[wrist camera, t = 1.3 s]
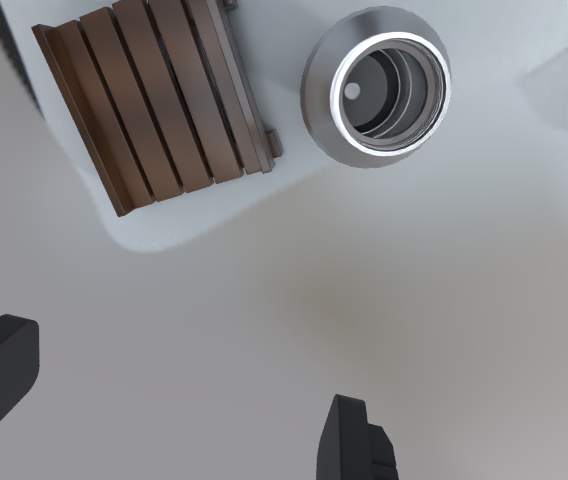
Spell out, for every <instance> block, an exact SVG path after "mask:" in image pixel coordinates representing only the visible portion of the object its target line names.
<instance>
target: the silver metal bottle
mask: <svg viewBox="0 0 568 480" xmlns="http://www.w3.org/2000/svg"><path fill="white" fill-rule="evenodd" d="M451 79H452V77H451V68H450V61H449V57H448V54H447V51H446V48H445V46H444V44H443V42H442V40H441V39H440V37H439V35H438V33H437V32H436V31H435V30H434V29H433V28H432V27H431V26H430V25H429V24H428V22H427V21H425V20H424V19H422V18H420V17H419V16H417V15H416V14H414V13H412V12H409V11H407V10H404V9H401V8H396V7H388V6H380V7H371V8H366V9H363V10H360V11H357V12H354V13H352V14H350V15H348V16H347V17H345V18H343V19H342V20H340V21H338V22H337V23H336V24H335V25H334V26H332V27H331V28H330V29H329V30H328V31H327V32H326V33H325V34H324V35H323V36H322V38H321V39H320V40H319V41H318V43H317V44H316V45H315V47H314V49H313V51H312V53H311V54H310V56H309V58H308V60H307V63H306V66H305V69H304V72H303V75H302V81H301V88H300V103H301V111H302V115H303V119H304V123H305V125H306V127H307V129H308V132H309V134H310V136H311V137H312V138H313V140H314V141H315V143H316V144H317V146H318V147H319V148H321V149H322V150H323V151H324V152H325V153H326V154H327V155H328V156H330V157H331V158H333V159H335V160H336V161H338V162H340V163H343V164H346V165H349V166H351V167H358V168H379V167H383V166H387V165H391V164H394V163H396V162H398V161H400V160H402V159H404V158H407V157H408V156H409V155H411V154H412V153H413V152H415V151H416V150H418V149H419V148H420V147H421V146H422V145H423V144H424V143H425V142H426V141H427V140H428V139H429V138H430V137H431V135H432V134H433V133H434V132H435V130H436V129H437V127H438V126H439V124H440V123H441V121H442V119H443V117H444V115H445V113H446V111H447V107H448V104H449V100H450V91H451Z"/></svg>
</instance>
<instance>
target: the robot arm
mask: <svg viewBox="0 0 568 480" xmlns="http://www.w3.org/2000/svg"><path fill="white" fill-rule="evenodd" d="M38 372H39V326H38V323H37V322H36V321H34V320H30V319H26V318H22V317H17V316H13V315H9V314H5V315H2V316H0V421H1V420H2V419H3V418H4V417H5V416H6V414H7V413H8V412H9V411H10V410H11V409H12V408H13V407H14V406H15V405H16V404H17V403H18V402H19V401H20V400H21V399H22V398H23V397H24V396H25V395H26V394H27V393H28V392H29V390H30V389H31V388H32V386H33V385H34V383H35V381H36V378H37V376H38ZM316 480H399V478H398V472H397V469H396V461H395V456H394V450H393V445H392V443H391V442H390V440H389V439H388V437H387V435H386V433H385V432H384V430H383V428H382V427H381V426H377V425H373V424H369V423H368V422H367V413H366V406H365V402H364V401H363V400H359V399H355V398H351V397H347V396H343V395H338V394H336V395H335V397H334V399H333V402H332V405H331V408H330V411H329V414H328V417H327V420H326V423H325V426H324V429H323V432H322V435H321V438H320V443H319V448H318V454H317V471H316Z"/></svg>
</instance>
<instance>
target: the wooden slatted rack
mask: <svg viewBox="0 0 568 480" xmlns="http://www.w3.org/2000/svg"><path fill="white" fill-rule="evenodd" d="M148 1H149V3H148V4H147V1H146V0H121V1H118V2H116V3H114V4H112V7H113V9H111V8H108V7H104V8H101V9H99V10H96V11H94V12H91V13H89V14H87V15H84V16H82V17H80V21H81V22H80V21H76V20H72V21H70V22H67V23H65V24H63V25H60V26H58V27H51V26H46V25H42V24H38V25H35V26H33V27H31V29H32V31H33V33H34V35H35V37H36V39H37V42H38V44H39V46H40V48H41V50H42V53H43V55H44V57H45V59H46V61H47V63H48V66H49V68H50V70H51V72H52V74H53V76H54V79H55V81H56V83H57V85H58V87H59V89H60V92H61V94H62V96H63V98H64V100H65V103H66V105H67V107H68V109H69V111H70V113H71V116H72V118H73V120H74V122H75V124H76V126H77V129H78V131H79V133H80V135H81V137H82V139H83V142H84V144H85V146H86V148H87V150H88V153H89V155H90V157H91V159H92V161H93V163H94V166H95V168H96V170H97V172H98V174H99V176H100V179H101V181H102V183H103V185H104V187H105V189H106V192H107V194H108V196H109V198H110V200H111V203H112V205H113V207H114V209H115V211H116V213H117V216H118V217H121V216H125V215H127V214H128V213H130V212H131V211H133V210H134V209H136V208H140V207H143V206H146V205H150V204H153V203H154V202H155V201H157V202H159V201H163V200H166V199H169V198H173V197H176V196H179V195H182V194H183V193H184V192H185V191H186V193H189V192H192V191H196V190H199V189H202V188H206V187H209V186H211V185H212V184H214V181H213V178H212V177H214V179H215V182H216V184H219V183H222V182H225V181H229V180H232V179H235V178H239V177H242V176H243V175H244V171H243V169H242V168H244V167H245V170H246V172H247V174H252V173H255V172H258V171H262V173H263V174H264V173H267V172H271V171H272V169H273V168H274V165H275V162H274V159H273V158H276V157H280V156H282V154H283V149H282V146H281V143H280V139H279V136H278V133H277V130H276V129H274V130H271V131H268V132H265V131H264V128H263V125H262V122H261V118H260V115H259V112H258V109H257V106H256V103H255V100H254V97H253V94H252V90H251V87H250V84H249V81H248V78H247V75H246V72H245V69H244V66H243V62H242V59H241V56H240V53H239V50H238V47H237V44H236V41H235V37H234V34H233V31H232V28H231V25H230V22H229V19H228V16H227V13H226V12H227V11H229V10H232V9H235V8H237V7H238V5H237V1H236V0H148ZM113 10H114V12H115V14H114V12H113ZM115 15H116V17H115ZM193 24H195V25H196V28H197V31H198V33H199V36H200V39H201V42H202V45H203V48H204V51H205V54H206V57H207V60H208V62H209V65H210V68H211V71H212V74H213V77H214V80H215V83H216V86H217V88H218V91H219V94H220V97H221V100H222V103H223V106H224V109H225V112H226V115H227V117H228V120H229V123H230V126H231V129H232V132H233V135H234V138H235V141H236V142H233V140H232V137H231V134H230V131H229V128H228V125H227V123H226V120H225V117H224V114H223V111H222V108H221V105H220V102H219V99H218V97H217V94H216V91H215V88H214V85H213V82H212V79H211V76H210V74H209V71H208V68H207V65H206V62H205V59H204V56H203V53H202V51H201V48H200V45H199V42H198V39H197V36H196V33H195V30H194V27H193ZM160 37H162V39H163V42H164V44H165V47H166V50H167V52H168V55H169V58H170V60H171V63H172V66H173V68H174V71H175V74H176V77H177V79H178V82H179V85H180V87H181V90H182V93H183V95H184V98H185V101H186V103H187V106H188V109H189V112H190V114H191V117H192V120H193V122H194V125H195V128H196V130H197V133H198V136H199V138H200V141H201V144H202V147H203V149H204V152H203V151H202V149H201V146H200V143H199V141H198V138H197V135H196V133H195V130H194V127H193V124H192V122H191V119H190V116H189V114H188V111H187V108H186V106H185V103H184V100H183V98H182V95H181V92H180V90H179V87H178V84H177V82H176V79H175V76H174V74H173V71H172V68H171V66H170V63H169V60H168V57H167V55H166V52H165V49H164V47H163V44H162V41H161V39H160ZM129 50H130V52H131V54H130V52H129ZM131 55H132V57H133V59H132V57H131ZM133 60H134V62H135V64H134V62H133ZM135 65H136V67H137V69H136V67H135ZM137 70H138V72H139V74H138V72H137ZM139 75H140V77H141V79H140V77H139ZM141 80H142V82H143V84H142V82H141ZM143 85H144V87H145V89H144V87H143ZM145 90H146V92H147V94H146V92H145ZM147 95H148V97H147ZM148 98H149V99H148ZM149 100H150V102H149ZM150 103H151V104H150ZM151 105H152V107H151ZM152 108H153V109H152ZM153 110H154V112H153ZM154 113H155V114H154ZM155 115H156V117H155ZM156 118H157V120H158V122H157V120H156ZM158 123H159V125H160V127H159V125H158ZM160 128H161V130H162V132H161V130H160ZM162 133H163V135H164V137H163V135H162ZM164 138H165V140H166V142H165V140H164ZM166 143H167V145H168V147H167V145H166ZM168 148H169V150H170V152H169V150H168ZM170 153H171V155H172V157H171V155H170ZM172 158H173V160H174V162H173V160H172ZM183 186H184V187H183ZM184 188H185V190H184Z"/></svg>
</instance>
